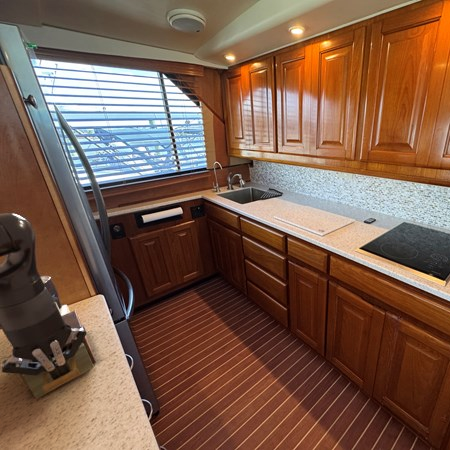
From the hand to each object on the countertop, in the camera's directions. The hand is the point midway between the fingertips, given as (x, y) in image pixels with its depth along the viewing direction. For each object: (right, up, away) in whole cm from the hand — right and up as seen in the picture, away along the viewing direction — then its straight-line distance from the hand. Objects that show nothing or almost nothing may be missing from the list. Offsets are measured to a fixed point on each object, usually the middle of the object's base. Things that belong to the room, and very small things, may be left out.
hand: (63, 376), depth 53 cm
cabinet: (-9, -2, +9) cm, 13 cm away
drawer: (-5, -2, +5) cm, 7 cm away
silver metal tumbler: (-25, +3, +22) cm, 33 cm away
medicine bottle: (-18, +1, +17) cm, 25 cm away
